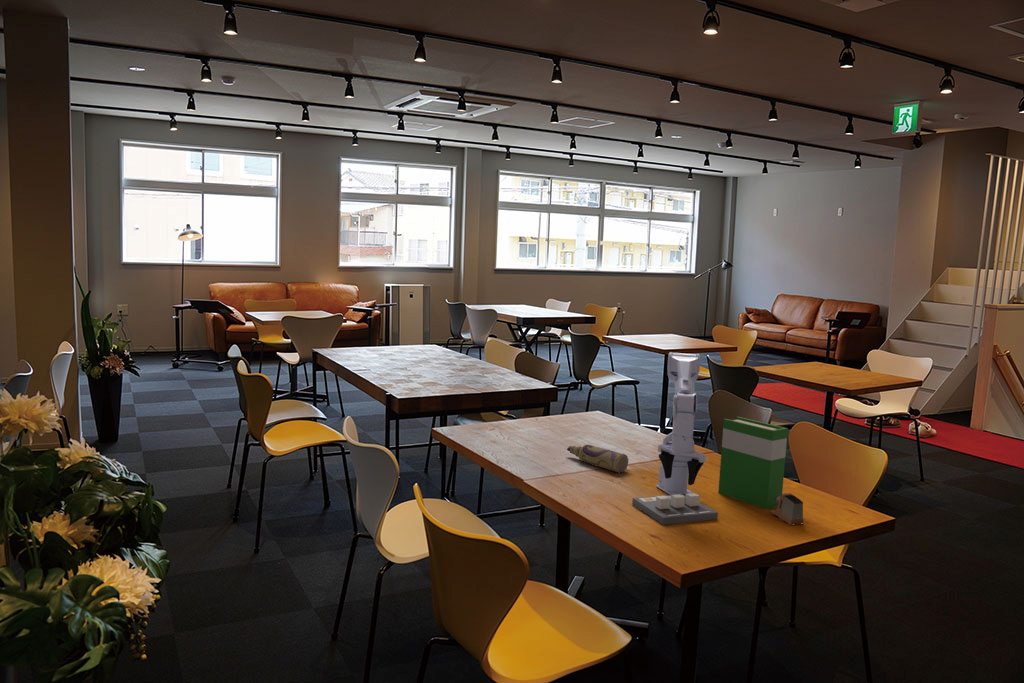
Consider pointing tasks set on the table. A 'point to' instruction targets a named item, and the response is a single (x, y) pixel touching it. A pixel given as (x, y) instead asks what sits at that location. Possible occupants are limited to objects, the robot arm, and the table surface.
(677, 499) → the tab middle
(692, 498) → the tab
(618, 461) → the decorative bottle
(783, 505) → the electronic device
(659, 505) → the tab
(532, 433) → the table surface
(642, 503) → the switch board
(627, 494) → the table surface
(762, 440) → the hardback book
